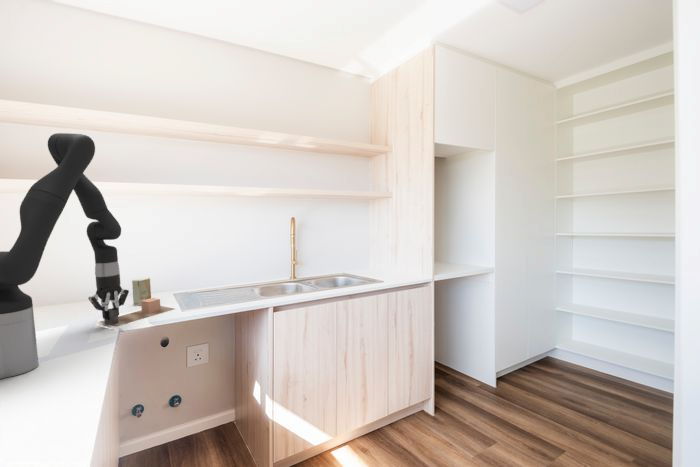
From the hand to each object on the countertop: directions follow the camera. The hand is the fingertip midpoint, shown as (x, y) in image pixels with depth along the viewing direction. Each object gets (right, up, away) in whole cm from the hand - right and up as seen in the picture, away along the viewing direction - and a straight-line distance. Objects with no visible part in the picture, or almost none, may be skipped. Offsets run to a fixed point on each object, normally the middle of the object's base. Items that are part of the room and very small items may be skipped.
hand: (111, 318), depth 133 cm
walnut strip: (+5, -2, +9) cm, 11 cm away
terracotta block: (+7, 0, +14) cm, 16 cm away
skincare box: (-4, -1, +27) cm, 27 cm away
